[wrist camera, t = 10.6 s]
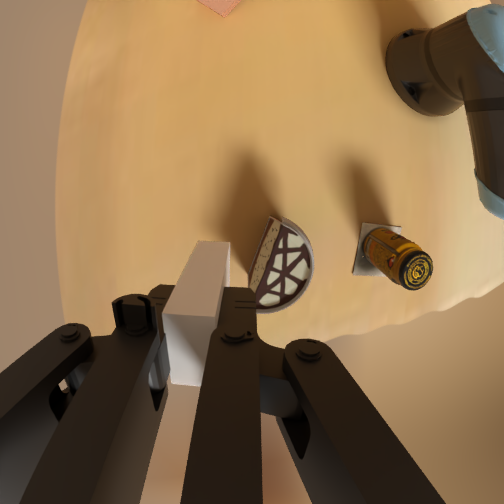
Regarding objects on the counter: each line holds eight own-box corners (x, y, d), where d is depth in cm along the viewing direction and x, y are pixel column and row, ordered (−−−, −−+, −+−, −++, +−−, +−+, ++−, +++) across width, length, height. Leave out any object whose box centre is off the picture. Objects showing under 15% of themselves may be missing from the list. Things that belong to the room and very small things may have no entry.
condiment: (401, 227, 45) (444, 249, 34) (390, 276, 48) (427, 308, 37) (361, 222, 45) (400, 244, 33) (351, 274, 47) (383, 309, 36)
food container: (282, 294, 48) (293, 328, 38) (244, 283, 47) (247, 315, 37) (312, 220, 44) (334, 237, 35) (273, 205, 43) (284, 220, 34)
